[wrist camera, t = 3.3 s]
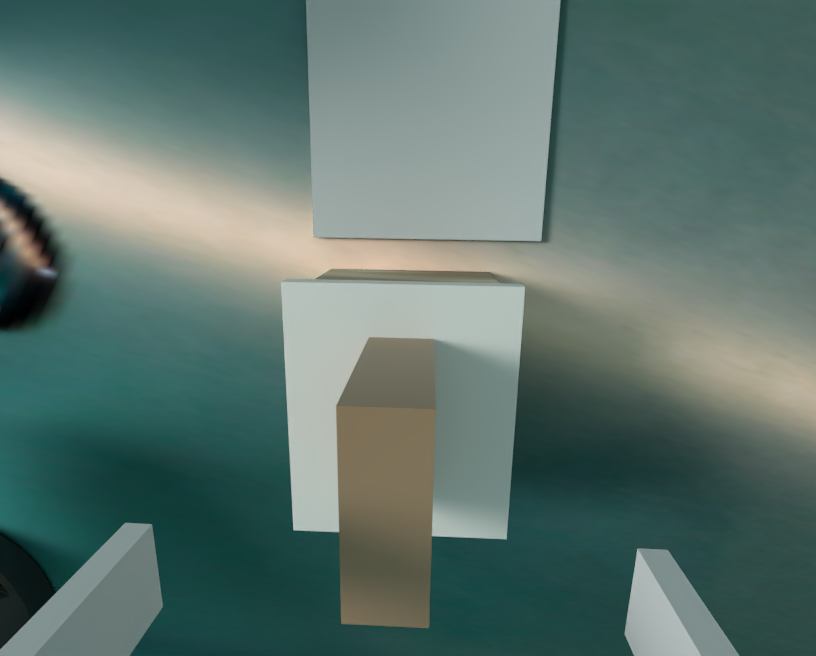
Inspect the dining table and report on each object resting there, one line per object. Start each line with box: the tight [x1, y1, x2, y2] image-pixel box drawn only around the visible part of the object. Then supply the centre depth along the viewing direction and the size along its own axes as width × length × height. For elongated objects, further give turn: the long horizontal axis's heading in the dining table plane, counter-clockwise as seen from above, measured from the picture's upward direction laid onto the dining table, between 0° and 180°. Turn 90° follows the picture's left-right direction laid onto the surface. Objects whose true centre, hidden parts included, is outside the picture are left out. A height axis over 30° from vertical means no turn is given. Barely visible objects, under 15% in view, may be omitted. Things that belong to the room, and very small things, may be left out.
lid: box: [281, 279, 525, 628], centre depth 20 cm, size 13×11×10 cm
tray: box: [306, 0, 561, 241], centre depth 28 cm, size 16×14×1 cm
